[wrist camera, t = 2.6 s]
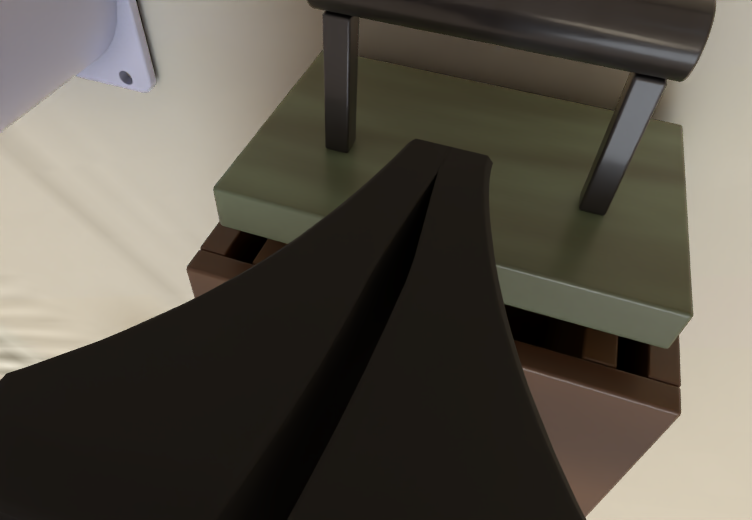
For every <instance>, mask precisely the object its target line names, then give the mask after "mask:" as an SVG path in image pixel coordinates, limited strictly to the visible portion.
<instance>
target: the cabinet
mask: <svg viewBox="0 0 752 520" xmlns="http://www.w3.org/2000/svg"><path fill="white" fill-rule="evenodd" d="M267 239H268V238H265V237H261V236H257V235H254V234H250V233H247V232H243V231H239V230H236V229H232V228H229V227H225V226H222V225H221V224H220V222H219V223H218V224H217V226H216V227H215V228H214V230H213V231H212V232H211V234H210V235H209V236H208V238H207V239H206V241H205V242H204V243H203V245H202V246H201V250H199V251H198V252H197V254H196V255H195V256H194V258H193V259H192V260H191V262H190V263H189V265H188V266H187V273H188V276H189V280H190V283H191V286H192V290H193V293H194V297H195V298H196V297H198V296H200V295H202V294H204V293H206V292H208V291H210V290H212V289H213V288H215V287H217V286H219V285H221V284H222V283H224V282H226V281H228V280H230V279H232V278H233V277H235V276H237V275H239V274H241V273H242V272H244V271H246V270H248V269H249V268H251V267H252V266H254V265H253V261H254V259H255V258H256V256H257V255H258V253H259V252H260V250H261V248H262V247H263V245H264V244H265V242H266V241H267ZM514 343H515V346H516V350H517V353H518V356H519V359H520V362H521V365H522V368H523V371H524V374H525V377H526V380H527V383H528V386H529V389H530V391H531V394H532V396H533V399H534V401H535V404H536V406H537V409H538V411H539V414H540V416H541V419H542V421H543V424H544V426H545V429H546V431H547V434H548V437H549V439H550V442H551V444H552V447H553V449H554V452H555V454H556V456H557V458H558V461H559V463H560V465H561V467H562V469H563V471H564V474H565V476H566V478H567V480H568V482H569V485H570V487H571V489H572V491H573V493H574V496H575V498H576V500H577V502H578V504H579V506H580V508H581V510H582V512H583V514H584V516H585V517H586V516H587V515H588V514H589V513H590V512H591V511H592V510H593V508H594V507H595V506H596V505H597V504H598V503H599V502H600V501H601V500H602V499H603V498H604V497H605V496H606V494H607V493H608V492H609V491H610V490H611V489H612V488H613V487H614V486H615V485H616V484H617V483H618V482H619V480H620V479H621V478H622V477H623V476H624V475H625V474H626V473H627V472H628V471H629V470H630V469H631V468H632V466H633V465H634V464H635V463H636V462H637V461H638V460H639V459H640V458H641V457H642V456H643V455H644V454H645V452H646V451H647V450H648V449H649V448H650V447H651V446H652V445H653V444H654V443H655V442H656V441H657V440H658V438H659V437H660V436H661V435H662V434H663V433H664V432H665V431H666V430H667V429H668V428H669V427H670V426H671V425H672V423H673V422H674V421H675V420H676V419H677V418H678V417H679V416H680V414H681V393H680V388H679V387H680V386H681V376H680V348H679V335H678V337H677V338H676V339H675V341H674V342H673V343H672V345H671V346H670V347H669V348H668V349H664V348H660V347H657V346H653V345H650V344H646V343H642V342H639V341H635V340H632V339H628V338H624V337H621V336H619V338H618V357H617V368H616V369H614V368H611V367H607V366H604V365H600V364H597V363H593V362H590V361H586V360H583V359H580V358H576V357H573V356H569V355H566V354H562V353H559V352H555V351H552V350H548V349H545V348H541V347H538V346H534V345H531V344H527V343H524V342H520V341H517V340H514Z"/></svg>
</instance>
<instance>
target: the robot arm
mask: <svg viewBox="0 0 752 520" xmlns="http://www.w3.org/2000/svg"><path fill="white" fill-rule="evenodd" d="M127 73H128V74H129V75H130V76H131V77H130V76H129V75H128V74H127ZM74 76H76V77H80V78H85V79H89V80H93V81H97V82H101V83H105V84H109V85H114V86H118V87H122V88H126V89H130V90H134V91H139V92H144V93H147V92H149V91H151V90H152V89H153V88H154V87H155V85H156V77H155V73H154V69H153V65H152V61H151V57H150V54H149V50H148V46H147V42H146V38H145V34H144V30H143V26H142V22H141V18H140V15H139V11H138V7H137V3H136V0H0V133H1V132H2V131H4V130H5V129H6V128H8V127H9V126H10V125H12V124H13V123H14V122H15V121H17V120H18V119H19V118H21V117H22V116H23V115H25V114H26V113H27V112H29V111H30V110H31V109H33V108H34V107H35V106H36V105H38V104H39V103H40V102H42V101H43V100H44V99H46V98H47V97H48V96H50V95H51V94H52V93H53V92H55V91H56V90H57V89H59V88H60V87H61V86H63V85H64V84H65V83H67V82H68V81H69V80H71V79H72V78H73V77H74ZM492 165H493V162H492V161H491V159H490V158H489V156H488V155H484V154H480V153H476V152H471V151H467V150H463V149H459V148H454V147H450V146H446V145H442V144H438V143H433V142H429V141H425V140H421V139H416V138H415V139H414V140H412V141H410V142H408V143H407V145H406V146H405V147H404V148H403V149H402V150H401V151H400V152H399V153H398V154H397V155H396V156H395V157H394V158H393V159H392V160H391V161H390V162H389V163H387V164H386V165H385V166H384V167H383V168H382V169H381V170H380V171H379V172H378V173H377V174H376V175H375V176H373V177H372V178H371V179H370V180H369V181H368V182H367V183H366V184H364V185H363V186H362V187H361V188H360V189H359V190H357V191H356V192H355V193H354V194H353V195H351V196H350V197H349V198H348V199H347V200H346V201H344V202H343V203H342V204H341V205H340V206H338V207H337V208H336V209H335V210H333V211H332V212H331V213H329V214H328V215H327V216H325V217H324V218H323V219H321V220H320V221H319V222H317V223H316V224H315V225H313V226H312V227H311V228H309V229H308V230H307V231H305V232H304V233H303V234H301V235H300V236H299V237H297V238H296V239H294V240H293V241H291V242H290V243H288V244H287V245H285V246H284V247H283V248H281V249H280V250H278V251H276V252H275V253H273V254H272V255H270V256H269V257H267V258H265V259H264V260H262V261H261V262H259V263H257V264H256V265H254V266H252V267H251V268H249V269H248V270H246V271H244V272H242V273H241V274H239V275H237V276H235V277H233V278H232V279H230V280H228V281H226V282H224V283H222V284H221V285H219V286H217V287H215V288H213V289H212V290H210V291H208V292H206V293H204V294H202V295H200V296H198V297H196V298H194V299H192V300H190V301H188V302H186V303H184V304H182V305H180V306H178V307H176V308H174V309H171V310H169V311H167V312H165V313H162V314H160V315H158V316H156V317H154V318H151V319H149V320H147V321H145V322H142V323H140V324H138V325H136V326H133V327H131V328H129V329H127V330H125V331H122V332H120V333H117V334H115V335H113V336H110V337H108V338H105V339H103V340H100V341H98V342H95V343H92V344H90V345H87V346H84V347H81V348H78V349H76V350H73V351H70V352H67V353H64V354H62V355H59V356H56V357H53V358H51V359H48V360H45V361H42V362H39V363H37V364H34V365H31V366H28V367H25V368H22V369H19V370H16V371H13V372H10V373H7V374H6V375H5V376H4V377H3V378H2V379H1V380H0V520H586V518H585V516H584V514H583V512H582V510H581V508H580V506H579V504H578V502H577V500H576V498H575V496H574V493H573V491H572V489H571V487H570V485H569V482H568V480H567V478H566V476H565V474H564V471H563V469H562V467H561V465H560V463H559V461H558V458H557V456H556V454H555V452H554V449H553V447H552V444H551V442H550V439H549V437H548V434H547V431H546V429H545V426H544V424H543V421H542V419H541V416H540V414H539V411H538V409H537V406H536V404H535V401H534V399H533V396H532V394H531V391H530V389H529V386H528V383H527V380H526V377H525V374H524V371H523V368H522V365H521V362H520V359H519V356H518V353H517V350H516V346H515V343H514V339H513V336H512V333H511V329H510V326H509V322H508V318H507V314H506V310H505V306H504V302H503V297H502V293H501V288H500V283H499V278H498V273H497V267H496V262H495V256H494V248H493V240H492V232H491V223H490V207H489V184H490V174H491V169H492Z"/></svg>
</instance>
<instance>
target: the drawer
mask: <svg viewBox="0 0 752 520" xmlns="http://www.w3.org/2000/svg"><path fill="white" fill-rule="evenodd" d="M307 2H308V4H309V5H310V6H311V7H312V8H315V9H320V10H325V12H324V13H323V50H322V52H321V53H320V54H319V55H318V57H317V58H316V59H315V60H314V62H313V63H312V64H311V66H310V67H309V68H308V69H307V71H306V72H305V73H304V74H303V76H302V77H301V78H300V79H299V81H298V82H297V83H296V84H295V86H294V87H293V88H292V89H291V91H290V92H289V93H288V94H287V96H286V97H285V98H284V99H283V101H282V102H281V103H280V104H279V106H278V107H277V108H276V109H275V111H274V112H273V113H272V115H271V116H270V117H269V118H268V120H267V121H266V122H265V123H264V125H263V126H262V127H261V128H260V130H259V131H258V132H257V133H256V135H255V136H254V137H253V138H252V140H251V141H250V142H249V143H248V145H247V146H246V147H245V148H244V150H243V151H242V152H241V153H240V155H239V156H238V157H237V158H236V160H235V161H234V162H233V164H232V165H231V166H230V167H229V169H228V170H227V171H226V172H225V174H224V175H223V176H222V177H221V179H220V180H219V181H218V182H217V184H216V185H215V186H214V189H213V191H214V196H215V201H216V205H217V210H218V215H219V220H220V224H221V225H222V226H225V227H229V228H232V229H236V230H239V231H243V232H247V233H250V234H254V235H257V236H261V237H265V238H268V239H267V241H266V242H265V244H264V245H263V247H262V248H261V250H260V252H259V253H258V255H257V256H256V258H255V259H254V261H253V265H256V264H257V263H259V262H261V261H262V260H264V259H265V258H267V257H269V256H270V255H272V254H273V253H275V252H276V251H278V250H280V249H281V248H283V247H284V246H285V245H287V244H288V243H290V242H291V241H293V240H294V239H296V238H297V237H299V236H300V235H301V234H303V233H304V232H305V231H307V230H308V229H309V228H311V227H312V226H313V225H315V224H316V223H317V222H319V221H320V220H321V219H323V218H324V217H325V216H327V215H328V214H329V213H331V212H332V211H333V210H335V209H336V208H337V207H338V206H340V205H341V204H342V203H343V202H344V201H346V200H347V199H348V198H349V197H350V196H351V195H353V194H354V193H355V192H356V191H357V190H359V189H360V188H361V187H362V186H363V185H364V184H366V183H367V182H368V181H369V180H370V179H371V178H372V177H373V176H375V175H376V174H377V173H378V172H379V171H380V170H381V169H382V168H383V167H384V166H385V165H386V164H387V163H389V162H390V161H391V160H392V159H393V158H394V157H395V156H396V155H397V154H398V153H399V152H400V151H401V150H402V149H403V148H404V147H405V146H406V145H407V143H408V142H410V141H412V140H414V139H415V138H416V139H421V140H425V141H429V142H433V143H438V144H442V145H446V146H450V147H454V148H459V149H463V150H467V151H471V152H476V153H480V154H484V155H488V156H489V158H490V159H491V161H492V162H493V165H492V169H491V174H490V184H489V207H490V223H491V232H492V240H493V248H494V256H495V262H496V267H497V273H498V278H499V283H500V288H501V293H502V297H503V302H504V306H505V310H506V314H507V318H508V322H509V326H510V329H511V333H512V336H513V339H514V340H517V341H520V342H524V343H527V344H531V345H534V346H538V347H541V348H545V349H548V350H552V351H555V352H559V353H562V354H566V355H569V356H573V357H576V358H580V359H583V360H586V361H590V362H593V363H597V364H600V365H604V366H607V367H611V368H614V369H616V368H617V357H618V338H619V336H621V337H624V338H628V339H632V340H635V341H639V342H642V343H646V344H650V345H653V346H657V347H660V348H664V349H668V348H669V347H670V346H671V345H672V343H673V342H674V341H675V339H676V338H677V337H678V335H679V334H680V333H681V332H682V330H683V329H684V328H685V326H686V325H687V324H688V322H689V321H690V320H691V318H692V317H693V304H692V287H691V269H690V252H689V235H688V217H687V200H686V183H685V165H684V148H683V130H682V126H681V125H678V124H674V123H669V122H664V121H660V120H655V119H651V117H652V115H653V113H654V111H655V109H656V107H657V105H658V102H659V100H660V98H661V96H662V94H663V92H664V90H665V88H666V85H667V79H668V80H673V81H678V82H681V81H684V80H685V79H686V78H687V77H688V76H689V75H690V73H691V72H692V71H693V69H694V67H695V66H696V64H697V62H698V60H699V58H700V56H701V54H702V52H703V50H704V47H705V45H706V42H707V40H708V37H709V34H710V31H711V28H712V25H713V21H714V17H715V11H716V0H307ZM359 17H360V18H365V19H370V20H375V21H379V22H384V23H389V24H394V25H399V26H404V27H409V28H414V29H419V30H424V31H429V32H434V33H439V34H444V35H449V36H454V37H459V38H464V39H469V40H474V41H479V42H484V43H489V44H494V45H499V46H504V47H509V48H514V49H519V50H524V51H529V52H534V53H539V54H544V55H549V56H554V57H559V58H564V59H569V60H574V61H579V62H584V63H589V64H594V65H599V66H604V67H609V68H614V69H619V70H624V71H629V72H630V74H629V77H628V79H627V82H626V84H625V87H624V89H623V91H622V94H621V96H620V99H619V101H618V104H617V106H616V108H615V111H613V110H608V109H603V108H599V107H594V106H589V105H584V104H580V103H575V102H570V101H566V100H561V99H556V98H552V97H547V96H542V95H537V94H533V93H528V92H523V91H519V90H514V89H509V88H505V87H500V86H495V85H491V84H486V83H481V82H476V81H472V80H467V79H462V78H458V77H453V76H448V75H444V74H439V73H434V72H430V71H425V70H420V69H415V68H411V67H406V66H401V65H397V64H392V63H387V62H383V61H378V60H373V59H368V58H364V57H359V56H358V38H359Z"/></svg>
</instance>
